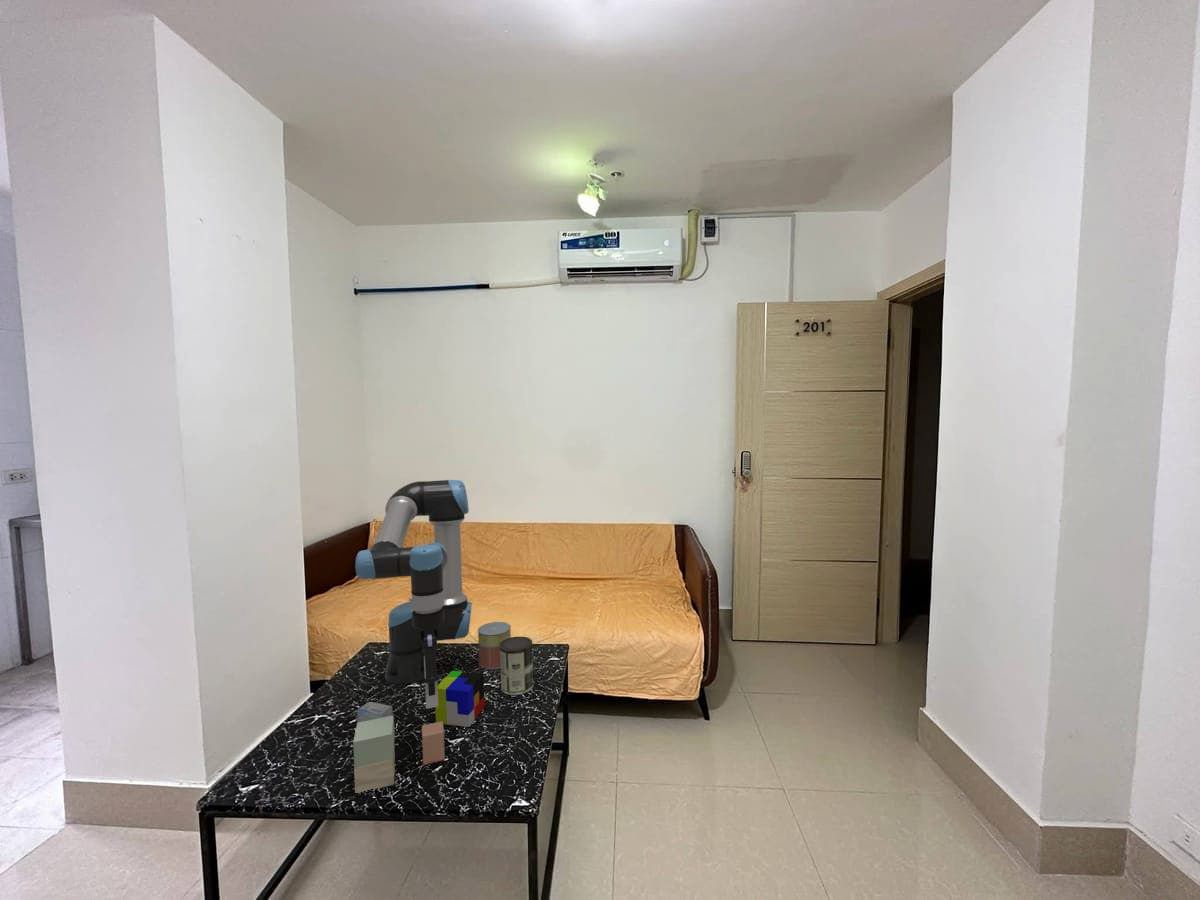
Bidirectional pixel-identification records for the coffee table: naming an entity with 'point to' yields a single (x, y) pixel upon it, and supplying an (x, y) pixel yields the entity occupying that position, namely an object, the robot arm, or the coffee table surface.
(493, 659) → the canned food
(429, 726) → the terracotta block
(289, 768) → the coffee table surface
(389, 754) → the sage block
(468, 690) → the puzzle toy
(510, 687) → the coffee can
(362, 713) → the medicine box
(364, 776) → the beech block
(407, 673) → the robot arm
